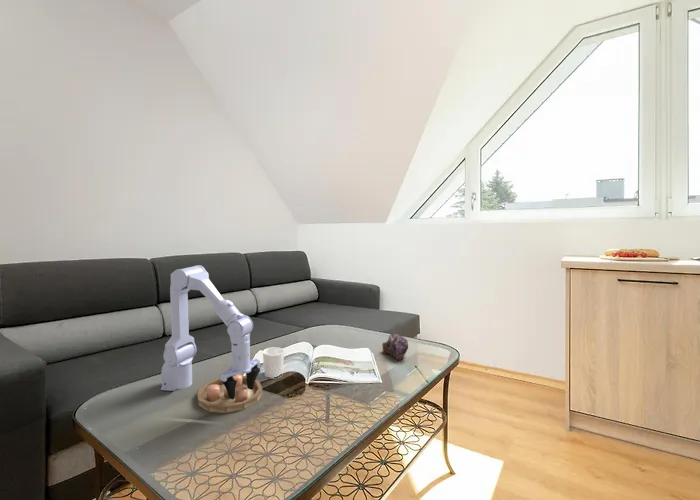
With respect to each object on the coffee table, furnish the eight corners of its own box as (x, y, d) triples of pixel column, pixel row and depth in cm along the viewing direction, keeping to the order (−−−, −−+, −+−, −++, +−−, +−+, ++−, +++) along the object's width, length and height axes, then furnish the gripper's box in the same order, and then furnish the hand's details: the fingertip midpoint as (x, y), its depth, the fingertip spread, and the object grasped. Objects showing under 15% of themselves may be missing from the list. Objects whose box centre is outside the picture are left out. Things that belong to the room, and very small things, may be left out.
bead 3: (233, 403, 123) (233, 392, 122) (237, 397, 127) (237, 386, 126) (245, 404, 122) (245, 393, 122) (249, 398, 126) (249, 386, 126)
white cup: (279, 382, 139) (279, 356, 138) (259, 379, 141) (259, 354, 139) (286, 372, 147) (287, 348, 145) (267, 370, 148) (268, 346, 147)
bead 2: (228, 389, 131) (228, 378, 131) (233, 384, 135) (233, 373, 135) (240, 390, 131) (239, 379, 130) (244, 384, 135) (244, 374, 134)
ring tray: (186, 412, 118) (185, 403, 118) (214, 380, 139) (214, 373, 138) (249, 417, 117) (249, 408, 117) (268, 384, 137) (268, 377, 137)
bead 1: (212, 403, 123) (211, 391, 122) (204, 399, 125) (204, 387, 124) (222, 397, 126) (222, 386, 125) (214, 394, 128) (214, 383, 127)
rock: (393, 364, 160) (412, 359, 165) (396, 346, 158) (415, 342, 162) (379, 350, 170) (397, 346, 175) (381, 333, 167) (399, 329, 172)
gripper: (230, 365, 114) (230, 407, 116) (266, 350, 126) (266, 388, 128) (215, 359, 118) (216, 399, 120) (251, 345, 130) (251, 381, 132)
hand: (241, 393), depth 124 cm, fingers open, 7 cm apart
